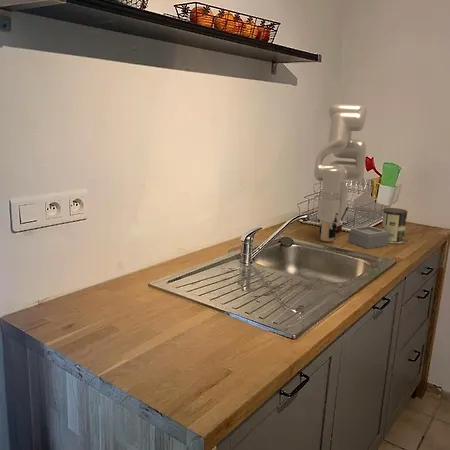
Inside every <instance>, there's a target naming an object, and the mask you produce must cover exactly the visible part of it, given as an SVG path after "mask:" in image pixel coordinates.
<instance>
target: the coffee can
mask: <svg viewBox="0 0 450 450" xmlns="http://www.w3.org/2000/svg"><path fill="white" fill-rule="evenodd" d="M382 211H383V212H382V213H383V214H382V223H381V230H384V231H387V232H388V233H387V234H389V239H388V244H404V242H405V235H406V225H407V219H408V217H407V216H408V212H409V211H408V210H406V209H403V208H398V207H397V208H396V207H385V208H383V210H382Z"/></svg>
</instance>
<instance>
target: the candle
mask: <svg viewBox="0 0 450 450" xmlns="http://www.w3.org/2000/svg"><path fill="white" fill-rule="evenodd" d="M333 225H334V223H333ZM329 229H330V223H327V222H324V221H322V228H321V234H320V241H322V242H333V241H334V238H329Z"/></svg>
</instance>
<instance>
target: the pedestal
mask: <svg viewBox="0 0 450 450" xmlns="http://www.w3.org/2000/svg"><path fill="white" fill-rule="evenodd" d="M387 233H388V232H387V231H384V230H382V228H377V227H374V226H371V225H365V226H364V225H363V226H359V227H356V226H355V227H351V228H350V230H349V231H348V238H347V239H348V240H347V242H348V243H350V244H354V245H357V246H360V247H362V248H365V249H374V248H380V247H386V246H389V243H388V239H389V234H387Z"/></svg>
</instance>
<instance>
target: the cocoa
mask: <svg viewBox="0 0 450 450" xmlns="http://www.w3.org/2000/svg"><path fill="white" fill-rule="evenodd" d="M348 209H349V207H348V206H346V210H345V212H344V214H343V216H342V218H341V220H340V221H341V224H340V225H339V226H338V227H337V229H336V233H339V232H342V228H343V224H342V223H343V222H342V220H343V217H344V215H345V216H346V213H347V211H348Z"/></svg>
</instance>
